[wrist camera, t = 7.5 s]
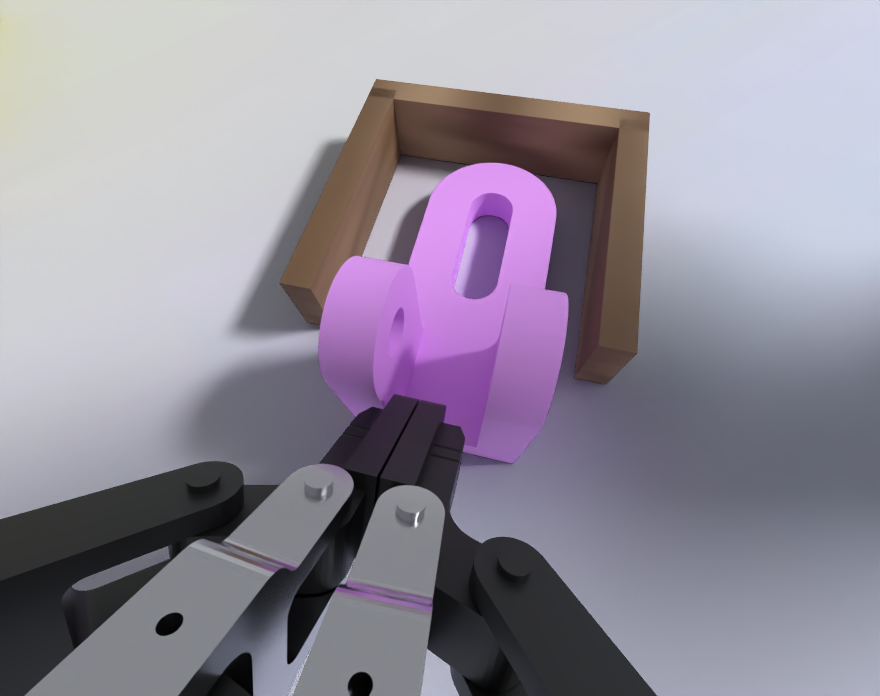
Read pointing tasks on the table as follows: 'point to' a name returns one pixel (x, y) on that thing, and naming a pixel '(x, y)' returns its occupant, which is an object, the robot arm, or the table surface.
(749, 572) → the table surface
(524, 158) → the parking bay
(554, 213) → the bracket
